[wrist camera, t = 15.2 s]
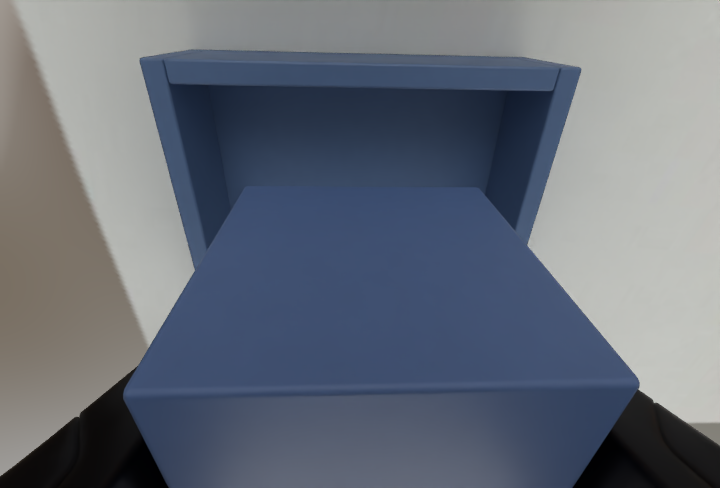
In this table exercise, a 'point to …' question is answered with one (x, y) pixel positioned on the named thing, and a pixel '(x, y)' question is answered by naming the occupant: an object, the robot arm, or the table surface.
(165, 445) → the blue block
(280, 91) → the blue tray
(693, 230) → the table surface
